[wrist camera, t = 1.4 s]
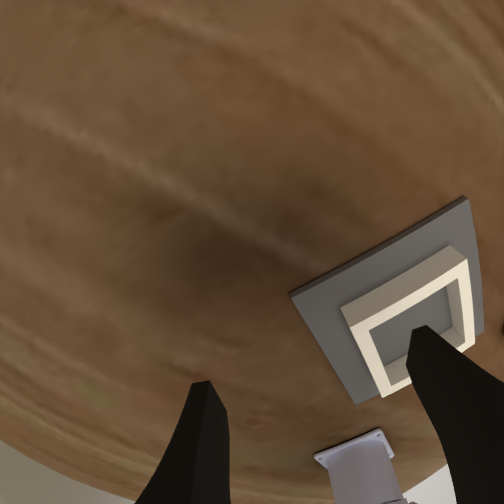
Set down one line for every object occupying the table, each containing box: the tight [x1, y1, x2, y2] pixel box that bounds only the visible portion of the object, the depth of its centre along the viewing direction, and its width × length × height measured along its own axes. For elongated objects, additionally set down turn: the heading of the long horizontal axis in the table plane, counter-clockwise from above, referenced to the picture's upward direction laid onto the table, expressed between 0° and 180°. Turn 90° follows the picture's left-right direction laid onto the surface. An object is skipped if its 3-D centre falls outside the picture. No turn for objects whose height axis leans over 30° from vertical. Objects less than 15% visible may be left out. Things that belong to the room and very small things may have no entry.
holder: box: [289, 196, 484, 405], centre depth 21 cm, size 14×14×3 cm
